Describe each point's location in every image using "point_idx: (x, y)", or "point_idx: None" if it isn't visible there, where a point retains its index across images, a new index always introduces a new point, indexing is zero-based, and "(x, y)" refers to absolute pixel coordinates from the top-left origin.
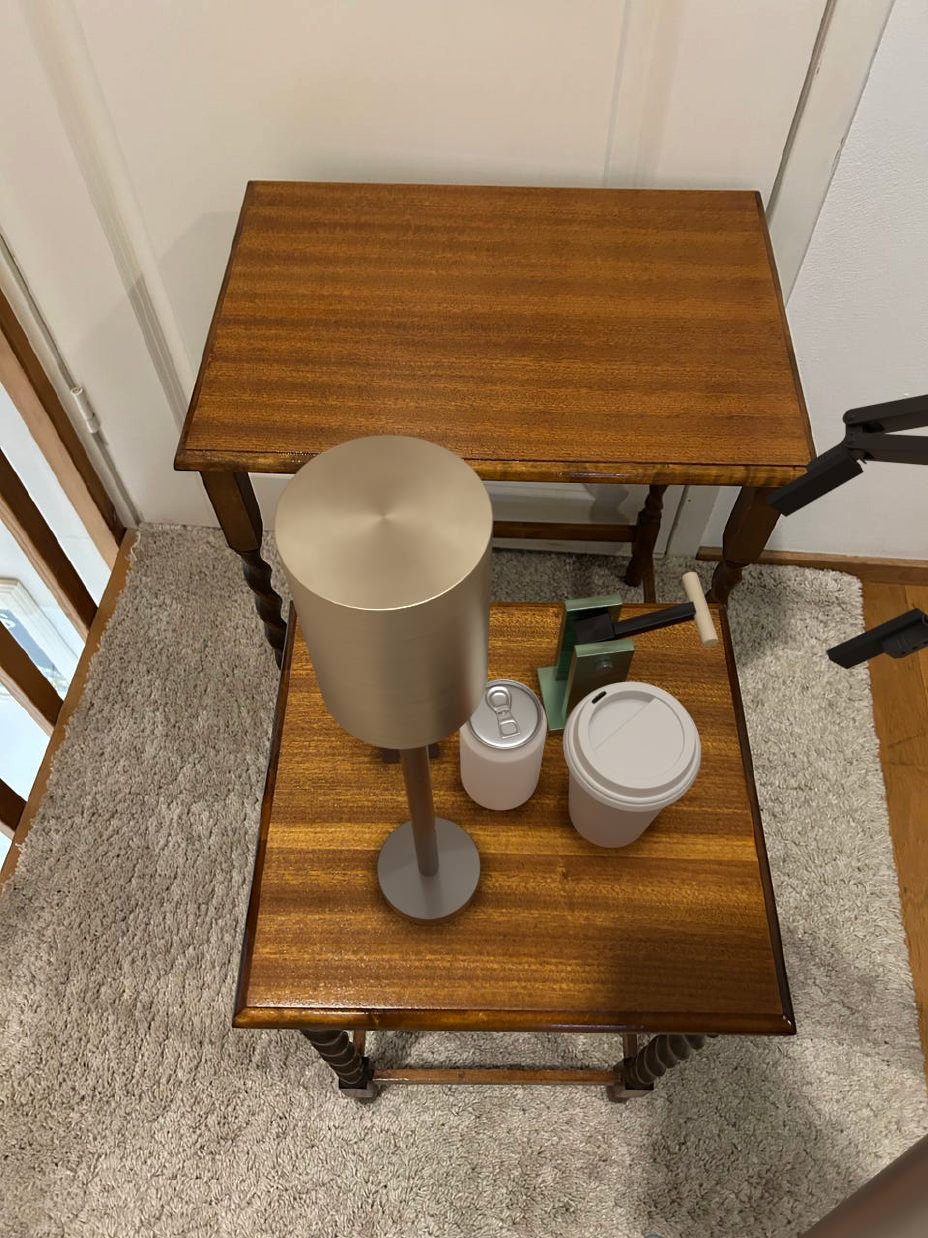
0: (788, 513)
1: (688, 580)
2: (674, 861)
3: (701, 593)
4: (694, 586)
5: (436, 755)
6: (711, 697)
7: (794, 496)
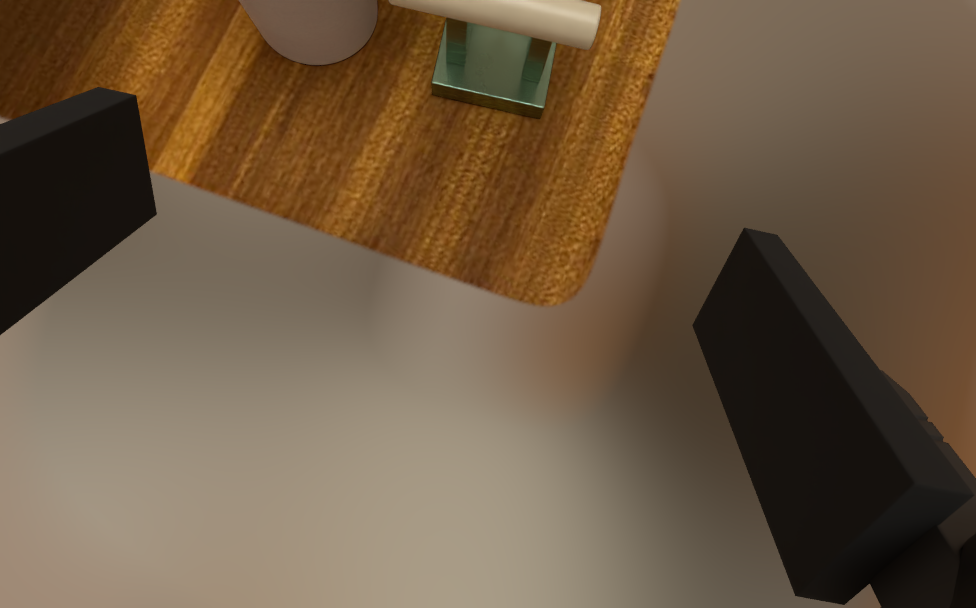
0: (700, 325)
1: (578, 1)
2: (204, 60)
3: (529, 8)
4: (555, 2)
5: None
6: (431, 237)
7: (752, 305)
